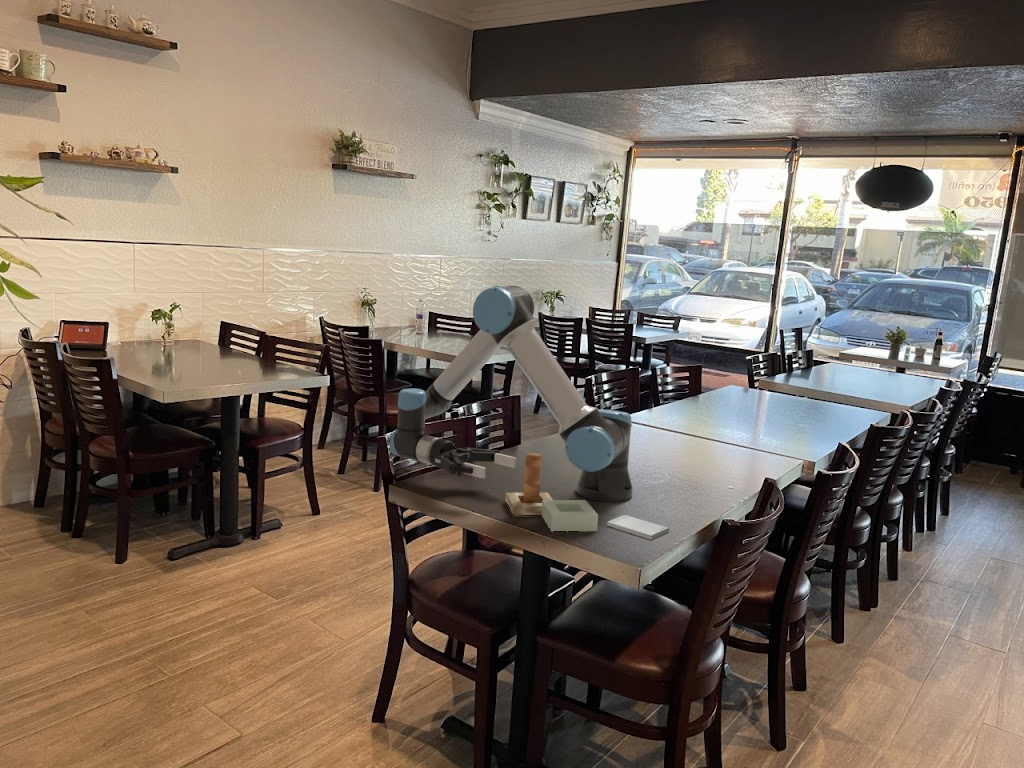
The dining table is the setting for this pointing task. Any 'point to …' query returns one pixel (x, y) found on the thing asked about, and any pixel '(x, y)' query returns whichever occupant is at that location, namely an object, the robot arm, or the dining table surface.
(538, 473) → the peg
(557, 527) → the socket block
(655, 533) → the hard drive
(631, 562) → the dining table surface
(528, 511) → the holder
